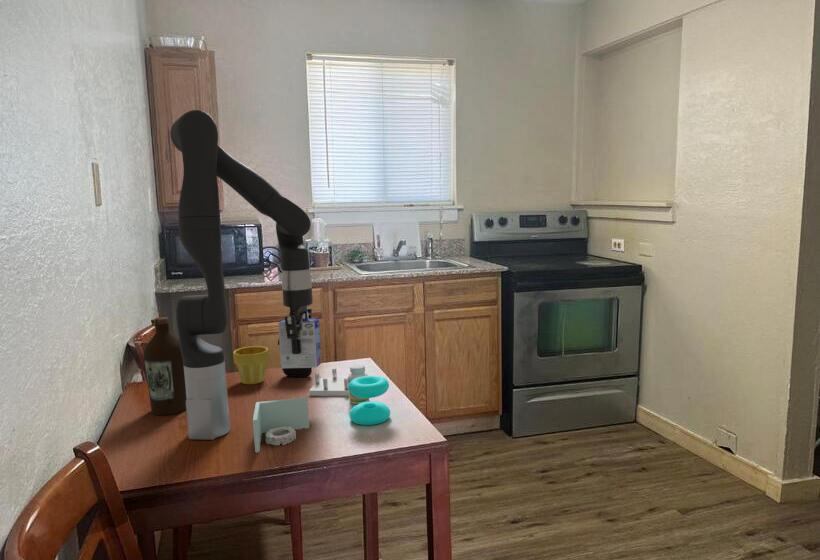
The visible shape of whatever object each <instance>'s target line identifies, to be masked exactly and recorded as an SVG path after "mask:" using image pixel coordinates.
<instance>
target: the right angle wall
mask: <svg viewBox="0 0 820 560" xmlns="http://www.w3.org/2000/svg"><path fill="white" fill-rule="evenodd" d="M308 403H309V401H308V397H307V396H305V397H304V396H303V397H295V398H285V399H274V400H266V401H265V400H264V401H256V402H255V406H254V407H255V408H254V411H253V416H252V417H253V418H252V426H253V429H252V431H253V441H254V451H255V452H256V453H260V452H259V451H261V444H260V443H262V437H263V435H262V434H264V436H265V443H266V444H267V445H272V446H276V445H279V446H281V445H280V444H283V445H282V446H286V445H287V443H288V444H290V443H293V442H292V441H293V440H294V439H295V440H297V435H296V434H297V431H296V430H303V429H302V428H305V429H310V415H309V404H308ZM295 429H296V430H295ZM261 436H262V437H261ZM295 440H294V441H295ZM285 444H286V445H285ZM255 452H254V453H255Z"/></svg>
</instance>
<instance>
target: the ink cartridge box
mask: <svg viewBox="0 0 820 560" xmlns="http://www.w3.org/2000/svg"><path fill="white" fill-rule="evenodd" d="M305 312H306V311H305ZM296 326H297V327H299V326H300V324H299V325H296ZM302 326H303V330H302V331H301V338H300V339H301V353H300V354H293V353H292V342H291V340H290V339H288V338H287V333H286V326H285V319H283V320H281V321H280V322H279V323H278V326H277V327H278V340H279V355H280V356H279V357H280V358H279V359H280V369H282V368H313V369H314V368H318V367H319V366H320V365H322V351H321V350H322V349H321V333H320V332H321V331H320V318H312V319H306V316H305V320H304V321H303V322H302ZM293 333H294V332H293ZM297 333H298V331H297Z"/></svg>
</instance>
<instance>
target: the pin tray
mask: <svg viewBox="0 0 820 560" xmlns="http://www.w3.org/2000/svg"><path fill="white" fill-rule="evenodd" d="M331 370H332V372H331V373H332V377H321V378H320V373H318V372H316V373H314V379H315V381H314V382H315V383H314V385H313V386H312V387H311V388H310V389H309V390H308V394H309V395H308V396H309V397H310V396H312V397H313V396H315V397H317V396H318V397H320V396H321V397H324V396H325V397H349V390H348V377H338V373H337V368H332V369H331Z"/></svg>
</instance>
